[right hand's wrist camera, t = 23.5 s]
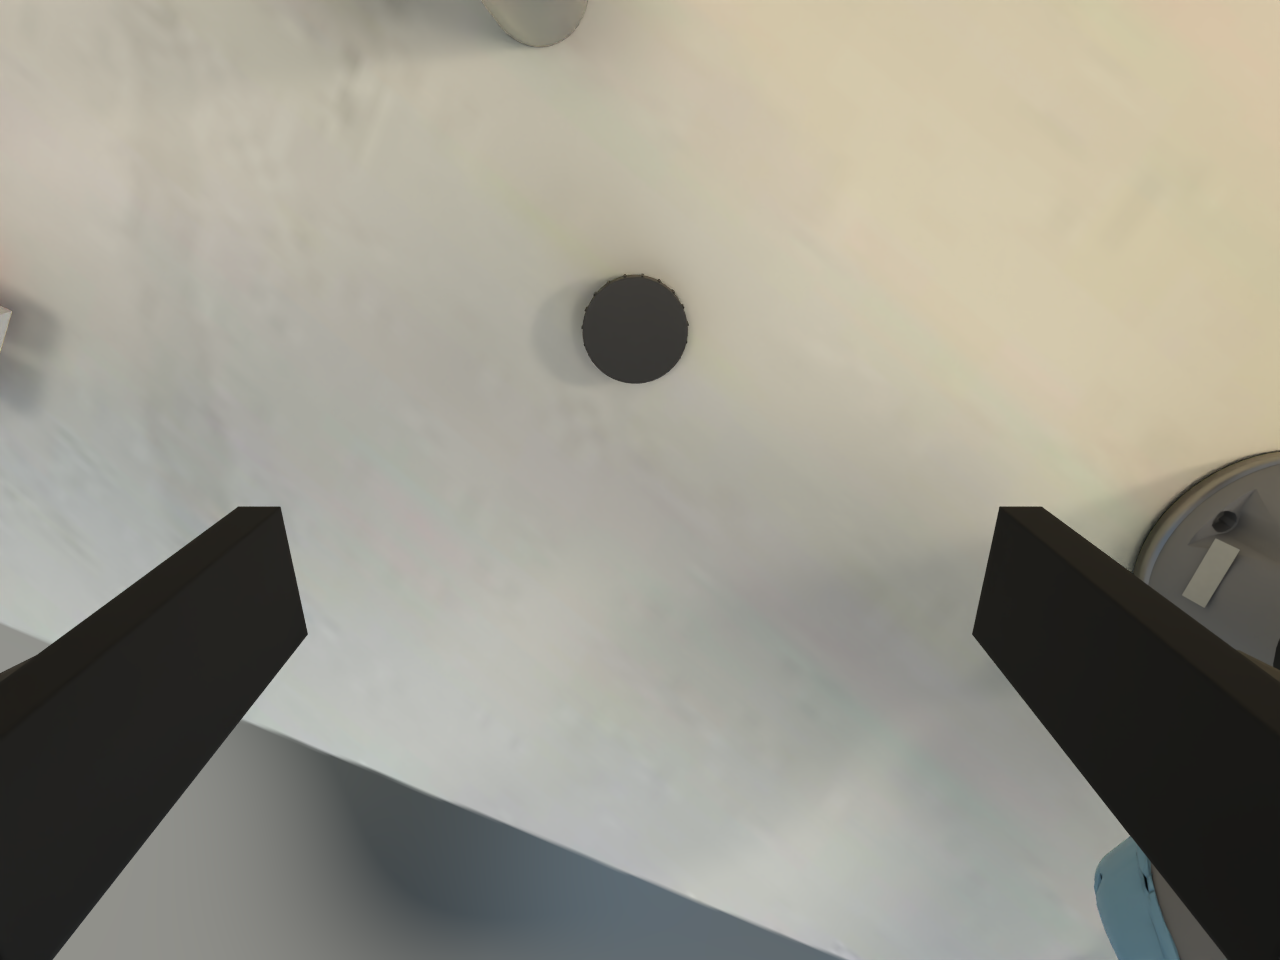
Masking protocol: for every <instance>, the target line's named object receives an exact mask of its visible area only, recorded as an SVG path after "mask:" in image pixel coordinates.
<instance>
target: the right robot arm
mask: <svg viewBox="0 0 1280 960" xmlns="http://www.w3.org/2000/svg"><path fill="white" fill-rule="evenodd" d="M307 635H308V633H307V628H306V624H305V619H304V614H303V610H302V605H301V600H300V596H299V591H298V586H297V582H296V577H295V572H294V568H293V563H292V558H291V554H290V549H289V544H288V540H287V535H286V531H285V526H284V521H283V517H282V512H281V507H237V508H236V509H235V510H233V511H232V512H230V513H229V514H228V515H226V516H225V517H224V518H222V519H221V520H220V521H218V522H217V523H216V524H214V525H213V526H211V527H210V528H209V529H207V530H206V531H205V532H203V533H202V534H201V535H199V536H198V537H197V538H195V539H194V540H192V541H191V542H190V543H188V544H187V545H186V546H184V547H183V548H182V549H180V550H179V551H178V552H176V553H175V554H173V555H172V556H171V557H169V558H168V559H167V560H165V561H164V562H163V563H161V564H160V565H158V566H157V567H156V568H154V569H153V570H152V571H150V572H149V573H148V574H146V575H145V576H144V577H142V578H141V579H139V580H138V581H137V582H135V583H134V584H133V585H131V586H130V587H129V588H127V589H126V590H125V591H123V592H122V593H120V594H119V595H118V596H116V597H115V598H114V599H112V600H111V601H110V602H108V603H107V604H106V605H104V606H103V607H101V608H100V609H99V610H97V611H96V612H95V613H93V614H92V615H91V616H89V617H88V618H87V619H85V620H84V621H82V622H81V623H80V624H78V625H77V626H76V627H74V628H73V629H72V630H70V631H69V632H67V633H66V634H65V635H63V636H62V637H61V638H59V639H58V640H57V641H55V642H54V643H53V644H51V645H50V646H48V647H47V648H46V649H44V650H43V651H42V652H40V653H39V654H38V655H36V656H34V657H32V658H30V659H28V660H26V661H24V662H22V663H20V664H18V665H16V666H14V667H12V668H10V669H8V670H6V671H4V672H2V673H0V960H53V958H54V957H55V956H56V955H57V953H58V952H59V951H60V949H61V948H62V947H63V946H64V944H65V943H66V942H67V941H68V939H69V938H70V937H71V935H72V934H73V933H74V932H75V930H76V929H77V928H78V926H79V925H80V924H81V923H82V921H83V920H84V919H85V918H86V916H87V915H88V914H89V912H90V911H91V910H92V909H93V907H94V906H95V905H96V904H97V902H98V901H99V900H100V898H101V897H102V896H103V895H104V893H105V892H106V891H107V890H108V888H109V887H110V886H111V884H112V883H113V882H114V881H115V879H116V878H117V877H118V876H119V874H120V873H121V872H122V870H123V869H124V868H125V867H126V865H127V864H128V863H129V862H130V860H131V859H132V858H133V856H134V855H135V854H136V853H137V851H138V850H139V849H140V848H141V846H142V845H143V844H144V842H145V841H146V840H147V839H148V837H149V836H150V835H151V833H152V832H153V831H154V830H155V828H156V827H157V826H158V825H159V823H160V822H161V821H162V819H163V818H164V817H165V816H166V814H167V813H168V812H169V810H170V809H171V808H172V807H173V805H174V804H175V803H176V802H177V800H178V799H179V798H180V797H181V795H182V794H183V793H184V791H185V790H186V789H187V788H188V786H189V785H190V784H191V783H192V781H193V780H194V779H195V777H196V776H197V775H198V774H199V772H200V771H201V770H202V768H203V767H204V766H205V765H206V763H207V762H208V761H209V760H210V758H211V757H212V756H213V754H214V753H215V752H216V751H217V749H218V748H219V747H220V746H221V744H222V743H223V742H224V740H225V739H226V738H227V737H228V735H229V734H230V733H231V731H232V730H233V729H234V728H235V726H236V725H237V724H238V723H239V721H240V720H241V719H242V718H243V716H244V715H245V714H246V712H247V711H248V710H249V709H250V707H251V706H252V705H253V704H254V702H255V701H256V700H257V698H258V697H259V696H260V695H261V693H262V692H263V691H264V689H265V688H266V687H267V686H268V684H269V683H270V682H271V681H272V679H273V678H274V677H275V675H276V674H277V673H278V672H279V670H280V669H281V668H282V667H283V665H284V664H285V663H286V661H287V660H288V659H289V658H290V656H291V655H292V654H293V653H294V651H295V650H296V649H297V647H298V646H299V645H300V644H301V642H302V641H303V640H304V639H305V637H306V636H307ZM972 635H973V636H974V637H975V639H976V640H977V641H978V642H979V644H980V645H981V646H982V647H983V649H984V650H985V651H986V653H987V654H988V655H989V656H990V658H991V659H992V660H993V661H994V663H995V664H996V665H997V667H998V668H999V669H1000V670H1001V672H1002V673H1003V674H1004V675H1005V677H1006V678H1007V679H1008V681H1009V682H1010V683H1011V684H1012V686H1013V687H1014V688H1015V689H1016V691H1017V692H1018V693H1019V695H1020V696H1021V697H1022V698H1023V700H1024V701H1025V702H1026V704H1027V705H1028V706H1029V707H1030V709H1031V710H1032V711H1033V712H1034V714H1035V715H1036V716H1037V718H1038V719H1039V720H1040V721H1041V723H1042V724H1043V725H1044V726H1045V728H1046V729H1047V730H1048V732H1049V733H1050V734H1051V735H1052V737H1053V738H1054V739H1055V740H1056V742H1057V743H1058V744H1059V746H1060V747H1061V748H1062V749H1063V751H1064V752H1065V753H1066V754H1067V756H1068V757H1069V758H1070V760H1071V761H1072V762H1073V763H1074V765H1075V766H1076V767H1077V768H1078V770H1079V771H1080V772H1081V774H1082V775H1083V776H1084V777H1085V779H1086V780H1087V781H1088V783H1089V784H1090V785H1091V786H1092V788H1093V789H1094V790H1095V791H1096V793H1097V794H1098V795H1099V797H1100V798H1101V799H1102V800H1103V802H1104V803H1105V804H1106V805H1107V807H1108V808H1109V809H1110V811H1111V812H1112V813H1113V814H1114V816H1115V817H1116V818H1117V819H1118V821H1119V822H1120V823H1121V825H1122V826H1123V827H1124V828H1125V830H1126V831H1127V832H1128V833H1129V835H1130V837H1129V838H1127V839H1126V840H1125V841H1124V842H1122V843H1121V844H1120V845H1118V846H1117V847H1116V848H1114V849H1113V850H1112V851H1110V852H1109V853H1108V854H1107V855H1106V856H1105V857H1104V858H1103V859H1102V860H1101V861H1100V863H1099V864H1098V867H1097V869H1096V872H1095V884H1094V889H1095V894H1096V901H1097V908H1098V911H1099V914H1100V917H1101V920H1102V923H1103V926H1104V928H1105V931H1106V933H1107V936H1108V938H1109V940H1110V943H1111V945H1112V947H1113V949H1114V951H1115V953H1116V955H1117V957H1118V959H1119V960H1280V452H1274V453H1268V454H1263V455H1259V456H1255V457H1252V458H1249V459H1246V460H1243V461H1240V462H1237V463H1235V464H1233V465H1230V466H1228V467H1226V468H1224V469H1222V470H1220V471H1218V472H1216V473H1214V474H1212V475H1211V476H1209V477H1207V478H1206V479H1204V480H1203V481H1201V482H1200V483H1198V484H1197V485H1195V486H1194V487H1192V488H1191V489H1190V490H1189V491H1187V492H1186V493H1185V494H1184V495H1182V496H1181V497H1180V498H1179V499H1178V500H1177V501H1176V502H1175V503H1174V504H1173V505H1172V506H1171V507H1170V508H1169V509H1168V510H1167V511H1166V512H1165V513H1164V514H1163V516H1162V517H1161V518H1160V519H1159V521H1158V522H1157V523H1156V524H1155V526H1154V527H1153V529H1152V530H1151V532H1150V533H1149V535H1148V537H1147V539H1146V540H1145V542H1144V544H1143V546H1142V548H1141V551H1140V553H1139V555H1138V558H1137V561H1136V564H1135V568H1134V573H1133V574H1132V573H1131V572H1130V571H1128V570H1127V569H1126V568H1124V567H1123V566H1122V565H1120V564H1119V563H1117V562H1116V561H1115V560H1113V559H1112V558H1111V557H1109V556H1108V555H1107V554H1105V553H1104V552H1102V551H1101V550H1100V549H1098V548H1097V547H1096V546H1094V545H1093V544H1092V543H1090V542H1089V541H1088V540H1086V539H1085V538H1083V537H1082V536H1081V535H1079V534H1078V533H1077V532H1075V531H1074V530H1073V529H1071V528H1070V527H1069V526H1067V525H1066V524H1064V523H1063V522H1062V521H1060V520H1059V519H1058V518H1056V517H1055V516H1054V515H1052V514H1051V513H1050V512H1048V511H1047V510H1045V509H1044V508H1043V507H999V512H998V517H997V521H996V526H995V531H994V535H993V540H992V544H991V549H990V554H989V558H988V563H987V568H986V572H985V577H984V582H983V586H982V591H981V596H980V600H979V605H978V610H977V614H976V619H975V624H974V628H973V633H972Z"/></svg>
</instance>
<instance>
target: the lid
mask: <svg viewBox="0 0 1280 960" xmlns="http://www.w3.org/2000/svg"><path fill="white" fill-rule="evenodd" d="M674 293H675V292H674V290H671V289H670V288H669V287H667V286H666V285H665V284H663V283H662V282H661V281H660V279H658V280H656V279H654V278H651V277H648V276H644V274H641V275H628V276H626V274H624V276H623V277H619V278H617V279H614V280H612V281H608V282H607V284H606V285H604V286H603V287H602V288H601V289H600V290H599V291H598V292H595V293H594V297H593V299H592V300H591V302H590V304H589V306H588V307H586V309H585V311H586V313H585V316H584V320H583V325H582V329H583V340H584V346H585V348H586V350H587V353H588V355H589V357H590V358H591V360H592V362H593V363H594V364H595V365H596V366H597V367H598V368H599V369H600V370H601V371H602V372H603V373H605V374H606V375H607V376H609V377H611V378H613V379H615V380H618V381H621V382H625V383H646V382H650V381H653V380H655V379H658V378H660V377H661V376H663V375H665V374H666V373H667V372H669V371H670V370H671V369H672V368H673V367H674V366H675V364H676V363H677V362H678V361H679V359H680V358H681V356H682V354H683V351H684V349H685V346H686V343H687V336H688V326H689V324H688V322H687V319H686V315H685V312H684V310H683V309H684V306H683V304H681V303H680V301H679V299H678V298H677V296H676V295H675V294H674Z"/></svg>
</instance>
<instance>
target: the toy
mask: <svg viewBox="0 0 1280 960" xmlns="http://www.w3.org/2000/svg"><path fill="white" fill-rule="evenodd" d="M11 314H12V311H11V310H9V309H7V308H5V307H2V306H0V352H1V349H2V345H3V342H4V338H5V335H6V331H7V328H8V324H9V321H10V317H11Z"/></svg>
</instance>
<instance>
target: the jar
mask: <svg viewBox="0 0 1280 960" xmlns="http://www.w3.org/2000/svg"><path fill="white" fill-rule="evenodd" d="M480 1H481V2H482V3H483V5H484V6H485V7H486V9H487V10H488V11H489V12H490V14H491V15H492V16H493V18H494V19H495V20H496V22H497V23H498V24H499V26H500V27H501V28H502V29H503V30H504V31H505V32H506V33H507V34H508V35H509V36H510V37H512V38H513V39H515V40H516V41H518V42H520V43H523V44H525V45H529V46H534V47H546V46H551V45H554V44H556V43H559V42H561V41H562V40H564V39H565V38H567V37H568V36H569V35H570V34H571V33H572V32H573V31H574V30H575V29H576V27H577V26H578V25H579V23H580V21H581V19H582V18H583V15H584V13H585V10H586V6H587V2H588V0H480Z"/></svg>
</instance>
